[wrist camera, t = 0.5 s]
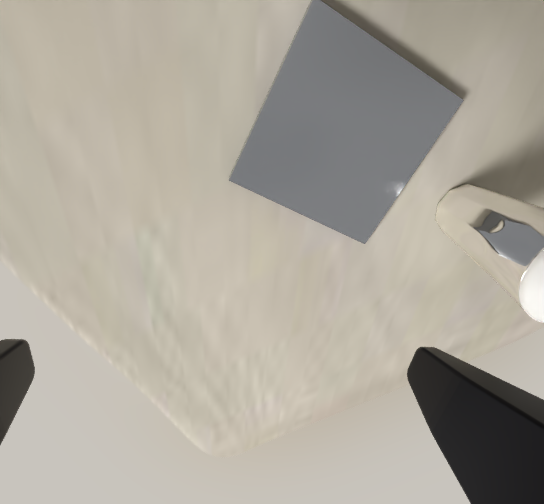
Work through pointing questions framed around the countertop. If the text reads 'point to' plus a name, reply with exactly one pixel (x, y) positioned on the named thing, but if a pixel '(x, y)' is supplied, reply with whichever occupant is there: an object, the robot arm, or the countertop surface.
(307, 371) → the countertop surface
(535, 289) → the milkshake
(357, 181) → the coaster
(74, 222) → the countertop surface
